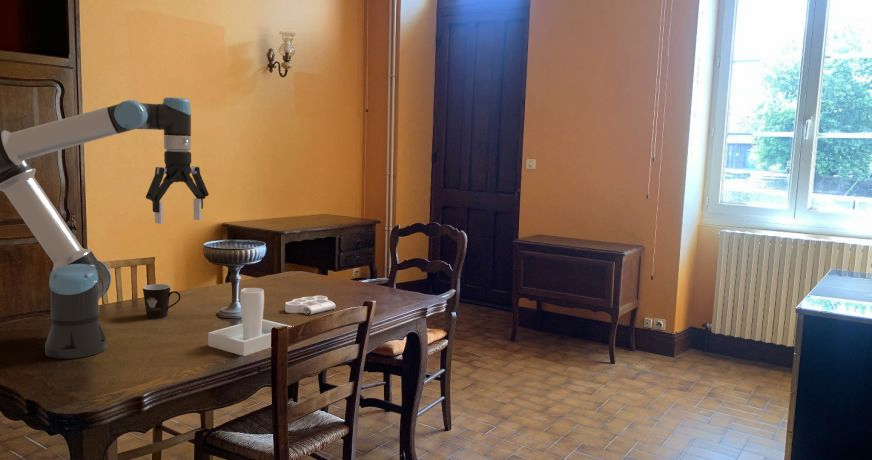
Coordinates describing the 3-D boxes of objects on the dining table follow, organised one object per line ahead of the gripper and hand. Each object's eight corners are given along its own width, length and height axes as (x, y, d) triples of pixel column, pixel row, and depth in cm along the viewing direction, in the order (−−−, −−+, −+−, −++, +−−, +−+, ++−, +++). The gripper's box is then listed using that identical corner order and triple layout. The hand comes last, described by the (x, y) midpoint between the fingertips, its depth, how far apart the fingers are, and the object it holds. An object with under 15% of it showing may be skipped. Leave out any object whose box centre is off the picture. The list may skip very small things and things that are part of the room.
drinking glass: (268, 338, 200) (269, 289, 199) (251, 344, 195) (251, 293, 193) (253, 334, 204) (253, 286, 202) (235, 339, 198) (235, 290, 196)
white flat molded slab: (304, 318, 230) (276, 310, 239) (342, 309, 244) (314, 302, 253) (304, 308, 230) (276, 301, 238) (342, 300, 244) (314, 293, 253)
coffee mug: (137, 316, 223) (136, 287, 222) (158, 311, 230) (158, 283, 229) (161, 322, 218) (161, 292, 216) (182, 316, 225) (182, 287, 224)
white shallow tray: (244, 356, 187) (244, 342, 187) (208, 345, 195) (208, 332, 195) (294, 339, 204) (294, 326, 204) (259, 330, 212) (259, 318, 211)
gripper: (148, 150, 186) (149, 226, 189) (220, 151, 207) (220, 219, 210) (131, 149, 190) (133, 223, 193) (203, 150, 211) (204, 217, 214)
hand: (178, 221), depth 202 cm, fingers open, 13 cm apart
